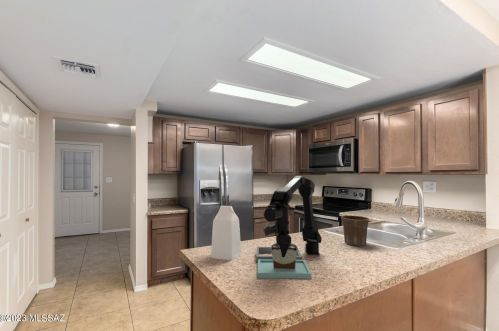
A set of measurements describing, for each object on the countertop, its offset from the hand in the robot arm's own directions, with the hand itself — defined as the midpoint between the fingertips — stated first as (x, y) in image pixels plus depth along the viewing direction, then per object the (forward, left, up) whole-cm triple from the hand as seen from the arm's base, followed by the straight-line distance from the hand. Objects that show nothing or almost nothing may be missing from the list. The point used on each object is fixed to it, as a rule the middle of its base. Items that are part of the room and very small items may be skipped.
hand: (282, 254), depth 113 cm
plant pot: (-48, -46, -7) cm, 67 cm away
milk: (+28, -20, -8) cm, 35 cm away
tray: (0, 0, -7) cm, 7 cm away
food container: (-1, -2, -6) cm, 7 cm away
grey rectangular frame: (+1, -18, -7) cm, 19 cm away
